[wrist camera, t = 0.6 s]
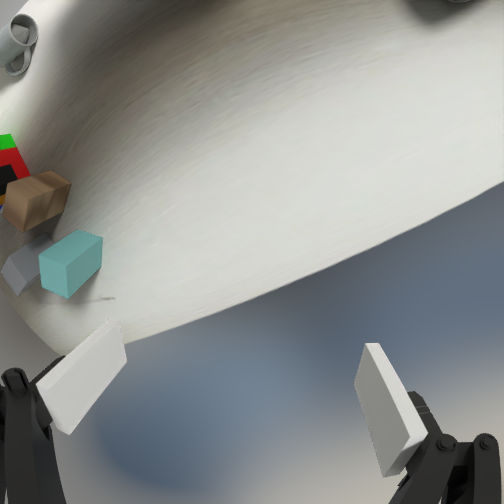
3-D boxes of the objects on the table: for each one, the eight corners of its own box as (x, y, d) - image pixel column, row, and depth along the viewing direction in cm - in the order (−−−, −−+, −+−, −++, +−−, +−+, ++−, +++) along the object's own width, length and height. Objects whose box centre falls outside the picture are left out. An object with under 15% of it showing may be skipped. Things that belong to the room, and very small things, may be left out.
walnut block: (51, 170, 34) (7, 183, 24) (71, 183, 35) (28, 199, 25) (43, 197, 35) (2, 215, 26) (63, 211, 36) (22, 232, 27)
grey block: (46, 232, 38) (8, 255, 29) (62, 255, 39) (27, 283, 30) (35, 247, 39) (0, 271, 30) (50, 269, 40) (17, 296, 31)
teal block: (77, 229, 37) (38, 255, 28) (102, 237, 38) (66, 266, 29) (76, 257, 39) (41, 286, 30) (101, 266, 40) (68, 298, 31)
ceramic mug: (10, 42, 23) (-17, 38, 16) (39, 17, 22) (12, 9, 15) (11, 85, 27) (-18, 85, 20) (40, 60, 26) (10, 56, 19)
